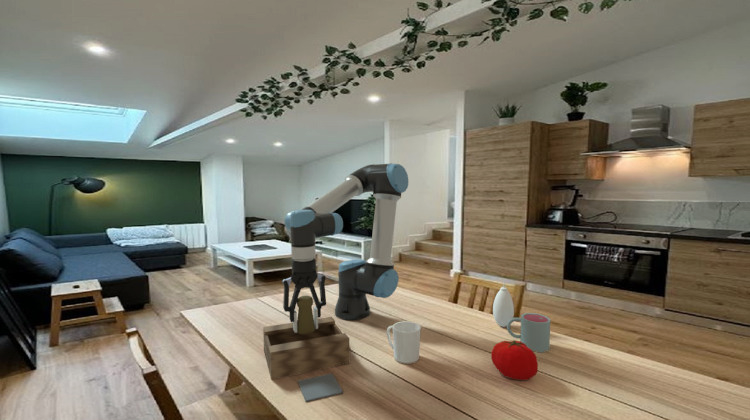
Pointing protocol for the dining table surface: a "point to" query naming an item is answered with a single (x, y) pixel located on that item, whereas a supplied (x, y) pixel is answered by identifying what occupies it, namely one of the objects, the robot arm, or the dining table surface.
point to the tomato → (514, 360)
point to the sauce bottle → (503, 307)
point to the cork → (305, 315)
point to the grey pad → (319, 387)
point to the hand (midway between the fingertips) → (305, 328)
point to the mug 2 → (533, 331)
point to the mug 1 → (405, 341)
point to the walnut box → (304, 348)
